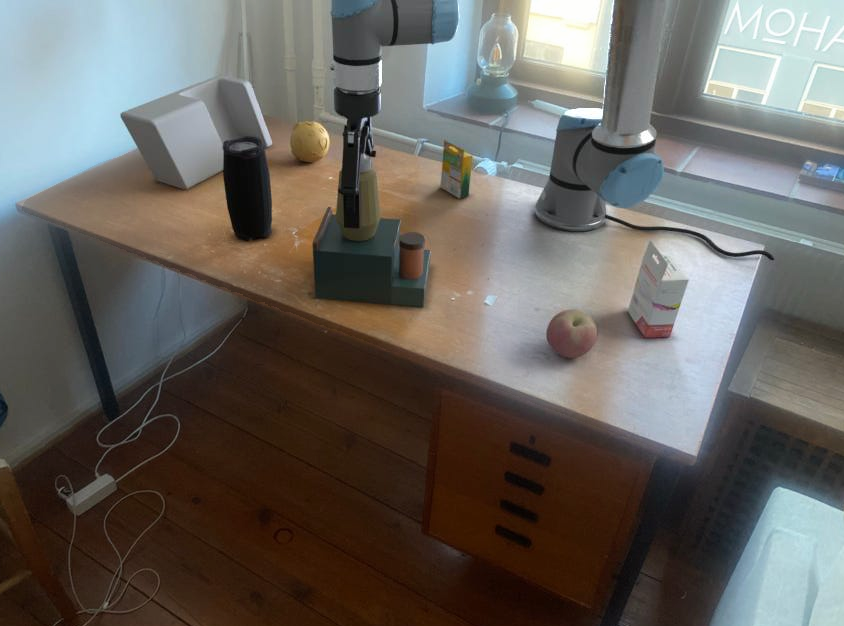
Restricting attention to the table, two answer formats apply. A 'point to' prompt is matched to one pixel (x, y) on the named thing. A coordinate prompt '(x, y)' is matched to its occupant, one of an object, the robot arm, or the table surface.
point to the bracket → (195, 128)
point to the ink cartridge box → (657, 294)
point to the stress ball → (309, 141)
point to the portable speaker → (247, 187)
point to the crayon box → (456, 170)
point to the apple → (571, 333)
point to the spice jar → (411, 255)
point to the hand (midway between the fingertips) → (358, 209)
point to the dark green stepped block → (364, 266)
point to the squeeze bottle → (362, 204)
